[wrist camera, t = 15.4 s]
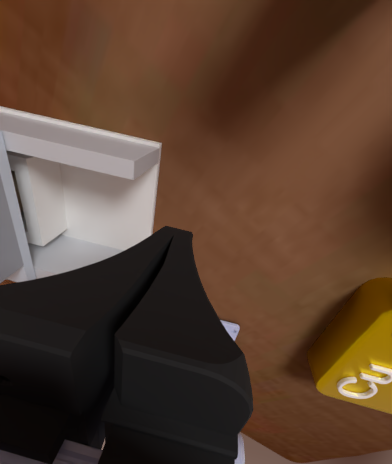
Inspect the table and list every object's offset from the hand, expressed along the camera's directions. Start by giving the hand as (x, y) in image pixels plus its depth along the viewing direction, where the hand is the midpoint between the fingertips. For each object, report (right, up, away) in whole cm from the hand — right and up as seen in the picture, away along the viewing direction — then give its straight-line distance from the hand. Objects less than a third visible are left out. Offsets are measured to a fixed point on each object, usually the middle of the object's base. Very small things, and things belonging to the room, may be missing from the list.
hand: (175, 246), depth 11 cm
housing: (-12, +5, +12) cm, 17 cm away
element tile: (+23, -11, +15) cm, 30 cm away
